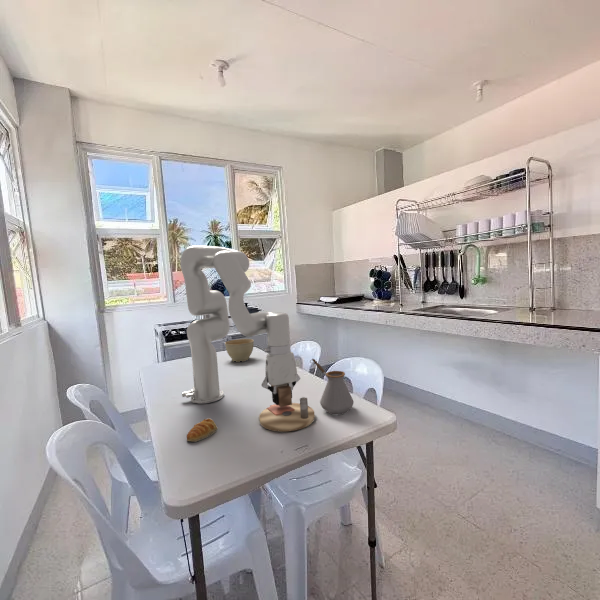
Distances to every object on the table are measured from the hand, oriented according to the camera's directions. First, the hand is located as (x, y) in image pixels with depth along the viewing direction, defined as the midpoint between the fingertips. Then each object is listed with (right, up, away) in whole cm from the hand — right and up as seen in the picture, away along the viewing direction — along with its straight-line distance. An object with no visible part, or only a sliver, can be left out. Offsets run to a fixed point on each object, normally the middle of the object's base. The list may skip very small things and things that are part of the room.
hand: (282, 401), depth 110 cm
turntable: (+2, -5, -4) cm, 6 cm away
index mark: (-3, -4, +6) cm, 8 cm away
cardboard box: (0, 0, 0) cm, 0 cm away
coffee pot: (+16, -3, +6) cm, 18 cm away
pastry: (-24, -7, -11) cm, 27 cm away
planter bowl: (-28, 0, +75) cm, 80 cm away
